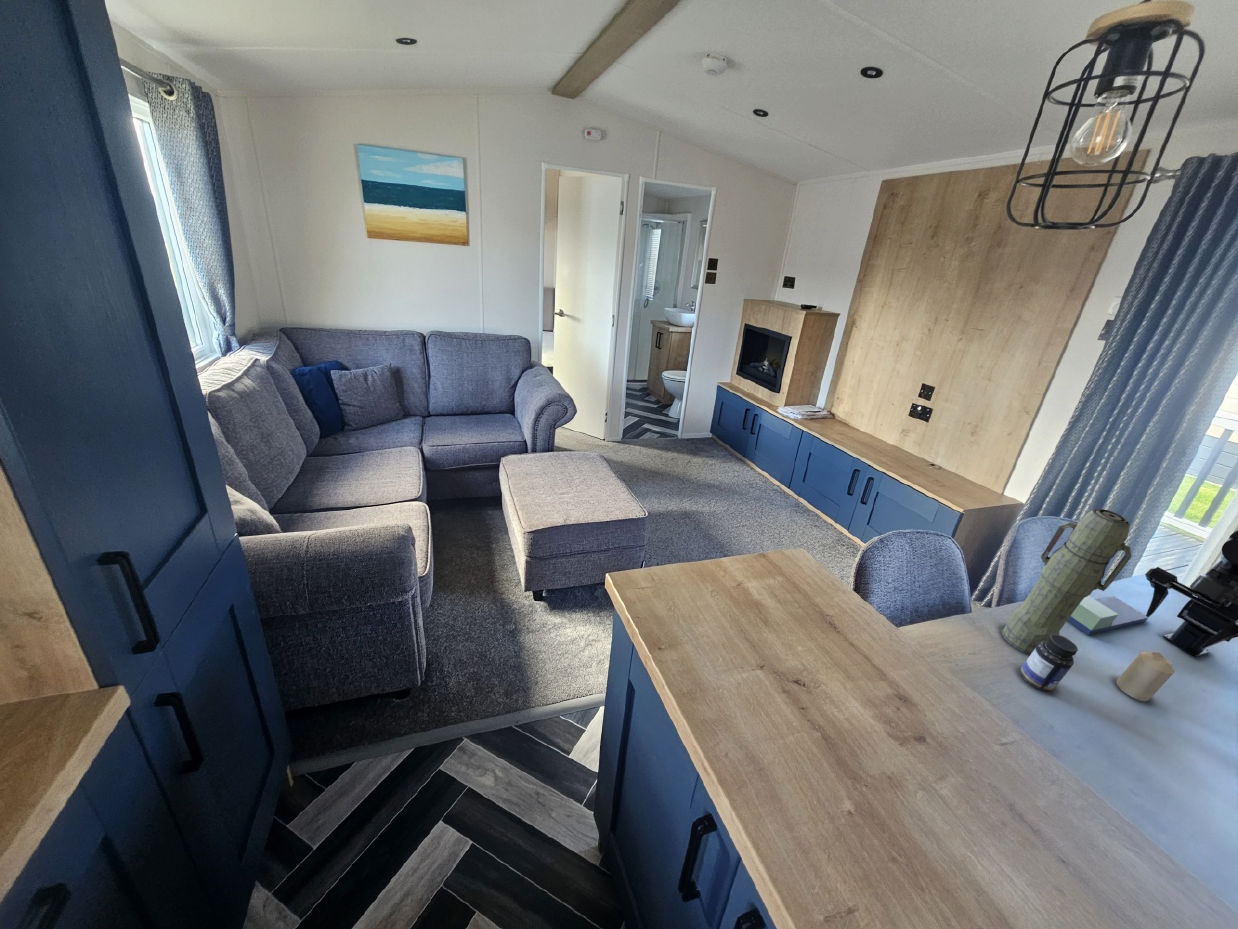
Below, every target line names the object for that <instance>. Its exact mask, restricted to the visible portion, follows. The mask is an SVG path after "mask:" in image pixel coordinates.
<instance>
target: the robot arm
mask: <svg viewBox="0 0 1238 929" xmlns="http://www.w3.org/2000/svg"><path fill="white" fill-rule="evenodd" d="M1220 550H1221V552H1220V559H1219V560H1218V561H1217V562H1216V563H1215V564H1213V566H1212V567H1211V568H1210V569H1209V570H1208V571H1207V572H1206V573H1202V574H1199V575H1198V576H1197V578H1196V579H1195V580H1194V581H1193V582H1191V584H1190V585H1189V586H1187V585H1185V584H1183V583H1181V582H1179V581H1178V576H1177V575H1175V574H1173V573H1171V572H1169V571H1166V570H1165V569H1163V568H1161V567H1159V566H1153V567H1151V568H1150V569H1148V570H1147V572H1146V573H1145V574H1144V576H1145V578H1146V580H1147V581H1148V582H1149V584H1150V587H1151V588H1152V589H1153V594H1152V599H1151V601H1150V604H1149V607H1148V609H1147V611H1146V614H1145V616H1147V617H1148V618H1150V617H1151V616H1152V615H1153V614H1154V613H1155V612H1156V610H1157V609H1158V608H1159V607H1160V606H1161V605H1162V603H1163V602H1164V600H1166V598H1167V597H1168V596H1169V594H1170V592H1169V590H1171V589H1172V590H1174V591H1175V592H1177V593H1179V594H1181V595H1183V596H1185V597H1187V598H1188V599H1189V600H1188V601H1187V602H1186V603H1185V605H1184V606H1183V607H1182V608H1181V609H1180V611H1179V612H1178V614H1177V615H1176V617H1177V618H1179V619H1181V620H1183V621H1182V623H1181V624H1180V625H1179V626H1178V628H1176V629H1175V631H1174V632H1172V633H1168V634H1164V635H1163V638H1164V639H1165V640H1167V641H1169V642H1170V643H1172V644H1173V645H1175V646H1176V647H1178V648H1180V649H1181V650H1183V651H1184V652H1186V653H1188V654H1189V655H1191V656H1192V657H1195V658H1196V657H1199V656H1204V655H1207V654H1209V653H1210V650H1209V649H1207V648H1209V647H1212V646H1215V645H1217V644H1219V643H1222V642H1227V643H1228V642H1230V641H1231V640H1232V639H1236V638H1238V529H1237V530H1235V531H1234V532H1233V533H1231V534H1230V535H1229V538H1228V540H1227V541H1224V543H1223V545H1222V546H1221V549H1220Z"/></svg>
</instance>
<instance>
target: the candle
mask: <svg viewBox="0 0 1238 929" xmlns="http://www.w3.org/2000/svg"><path fill="white" fill-rule="evenodd" d="M1175 673H1176V671H1175V668H1174V666H1173V664H1172V663H1171V662H1170V661H1169V660H1168V658H1167V657H1165V656H1164V655H1163V654H1162V653H1160V652H1157V651H1141V652H1139V654H1137V656H1136V657H1135V658H1134V660H1133V661H1132V662H1130V664H1129V665H1128V666H1127V668H1126V669H1125V670H1124V671H1123V672H1122V673H1121V674H1120V675H1119V677H1118V678H1117V679H1116V685H1117V687H1118V688H1119V689H1120V690H1121V692H1124V693H1125V694H1126V695H1127V696H1129V697H1131V698H1133V699H1135V700H1137V701H1140V702H1148V701H1150V699H1152V697H1153V696H1154V695H1155V694H1156V693H1158V691H1159V690H1160V689H1161V688H1162V687H1163V686H1164V684H1166V682H1167V681H1168V680H1169V679H1170V678H1171V677H1172V676H1173V675H1174V674H1175Z"/></svg>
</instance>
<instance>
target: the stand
mask: <svg viewBox="0 0 1238 929" xmlns="http://www.w3.org/2000/svg"><path fill="white" fill-rule="evenodd" d="M1148 619H1149V617H1147V616H1146V614H1143V613H1141V612H1140V611H1139V610H1137V609H1135V608H1134V607H1132V606H1130V605H1129V604H1128V603H1126V602H1124V601H1122V599H1119V598H1117V597H1116V596H1109V597H1104V598H1103V597H1102V598H1099V599H1098V598H1097V599H1095V598H1094V597H1092V596H1091V595H1089V596H1087V597H1085V598H1084V599H1083V600H1082V601H1081V603H1080V604H1079V605H1078V607H1077V608H1076V609H1075V611H1074V612H1073V613H1072V615H1071V616H1070V617H1069V619H1068V620H1067V621H1066V622H1069V623H1070V624H1072V625H1073V626H1075V627H1076V628H1077V629H1079V630H1080V631H1082V632H1083V633H1084V634H1086V635H1087V636H1090V635H1094V634H1098V633H1103V632H1107V631H1111V630H1116V629H1120V628H1124V627H1129V626H1134V625H1137V624H1143V623H1146V621H1148Z"/></svg>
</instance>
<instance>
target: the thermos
mask: <svg viewBox="0 0 1238 929" xmlns="http://www.w3.org/2000/svg"><path fill="white" fill-rule="evenodd" d="M1069 528H1070V529H1072V531H1071V532H1070V534H1069V535H1068V538H1067V541H1064V542H1063V544H1062V546H1060V547H1059V548H1057V549H1056V550H1054V551H1053V552H1052V550H1053V549H1054V547H1055V546H1056V544H1057V543H1058V541H1059V540H1060V539H1061V537H1062V535H1063V534H1064V532H1065V530H1067V529H1069ZM1130 528H1131V522H1130V521H1129V520H1127V518H1126V517H1124V516H1122V515H1121V514H1119V513H1117V512H1115V511H1111V510H1109V509H1104V508H1093V509H1091V510H1090V511H1088V512H1087V513H1086V514H1084V516H1083V517H1082V518H1081V519H1079V520H1078V522H1077V523H1076V522H1073V521H1069V522H1065V523H1062V524H1060V525H1059V526H1058V528H1057V530H1056V531H1055V533H1054V535H1053V536H1052V538H1051V540H1050V541H1049V543H1048V545H1047V547H1046V548H1045V550H1043V552H1042V554H1041V555H1040V559H1041V560H1042V563H1044V566H1043V567H1042V569H1041V571H1040V577H1039V578H1038V580H1037V581H1036V583H1035V584H1034V585H1033V587H1032V589H1031V590H1030V591H1029V593H1028V594H1027V596H1026V598H1025V599H1024V601H1023V602H1022V603H1021V605H1020V606H1018V607H1016V609H1014V610H1013V612H1011V614H1010V615H1009V617H1008V619H1007V621H1006V623H1005V626H1004V627H1003V628H1002V629H1001V635H1002V637H1003V638H1004V640H1005V641H1006V642H1007V643H1008V644H1009V645H1011V646H1012V647H1013V648H1014V649H1016V650H1017V651H1020V652H1021V653H1023V654H1026V655H1028V656H1030V655H1031V654H1032V652H1033V651H1034V649H1035V648H1036V647H1037V645H1038V644H1039V643H1040V642H1044V641H1047V639H1048V638H1049V636H1050V635H1051V634H1057V635H1061V630H1062V628H1063V627H1064V626H1065V624H1067V622H1068V621H1067V620H1068V619H1069V617H1070V616H1071V615H1072V613H1073V612H1074V611H1075V609H1076V608H1077V607H1078V605H1079V604H1080V603H1081V601H1082V600H1083V599H1084V598H1085V597H1087V596H1091V595H1092V593H1093V592H1094V591H1096V590H1099V591H1102V592H1105V591H1106V590H1107V589H1108V588H1109V586H1110V585H1111V584H1112V583H1113V582H1114V581H1115V579H1116V577H1117V576H1118V575H1119V574H1120V572H1122V570H1123V568H1125V566H1126V564H1127V563H1128V562H1129V561H1130V559H1131V558H1132V554H1133V553H1132V550H1131V546H1128V545H1126V543H1125V542H1126V540H1127V539H1128V536H1129V532H1130ZM1121 551H1122V552H1124V553H1125V554H1124V555H1123V557H1122V558H1121V560H1120V561H1119V562H1118V563H1117V564H1116V567H1115V568H1114V569H1113V570H1112V571H1111V573H1110V574H1109V575H1108V577H1106V579H1105V581H1104V582H1103V583H1102V580H1103V578H1104V577H1105V573H1106V567H1107V566H1108V565H1109V563H1110V560H1111V559H1112V558H1114V557H1115V556H1116V555H1117V553H1118V552H1121ZM1051 552H1052V554H1051V555H1050V556H1049V554H1050V553H1051Z"/></svg>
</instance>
